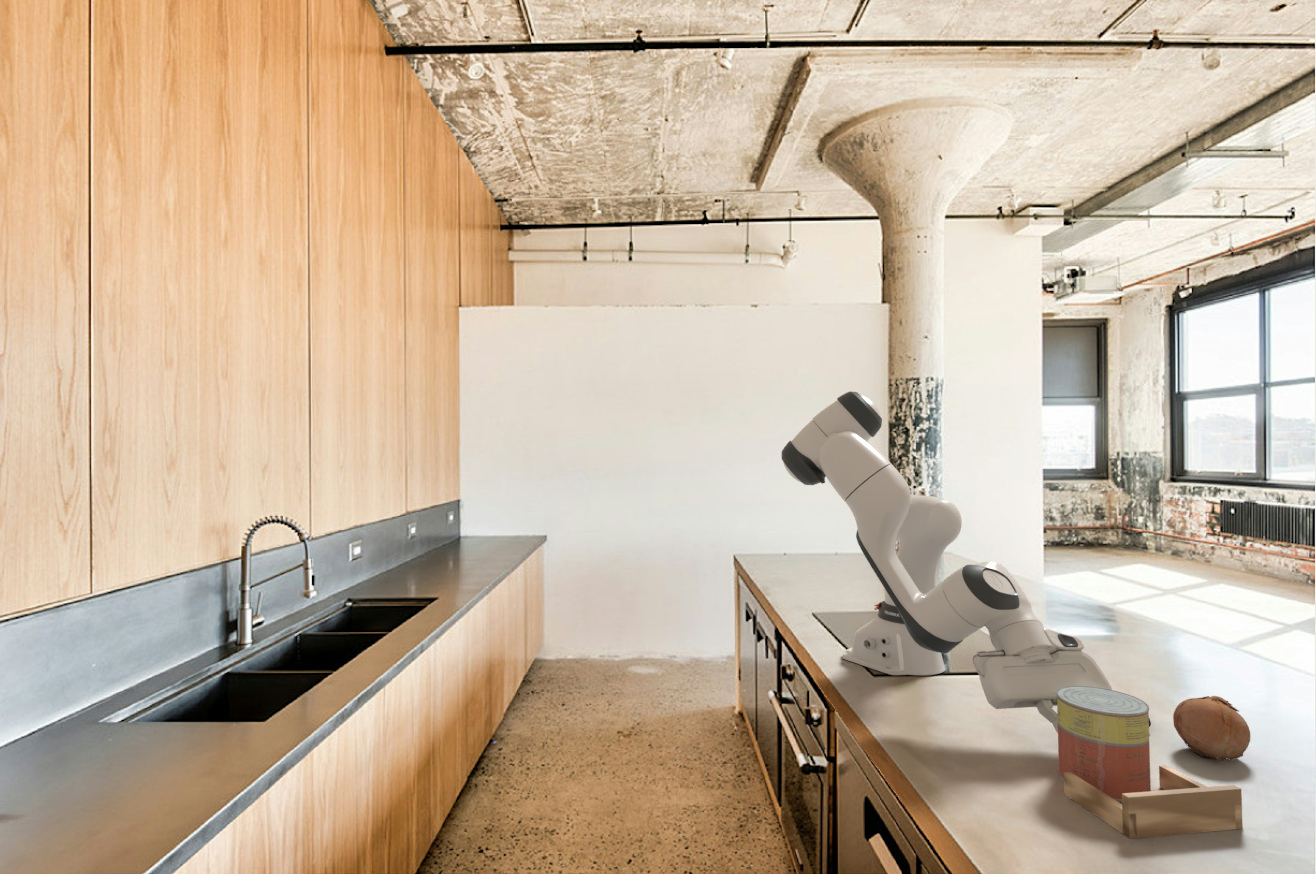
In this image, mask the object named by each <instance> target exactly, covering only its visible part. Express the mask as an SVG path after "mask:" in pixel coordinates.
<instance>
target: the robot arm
mask: <svg viewBox="0 0 1316 874" xmlns="http://www.w3.org/2000/svg"><path fill="white" fill-rule="evenodd" d="M836 399H837V400H835V401H834V402H833V403H831V404H829V405H828V406H826V407H825V408H823V410H821V411H820V412H819V413H816V415H815V416H813V418H812V420H811V421H810V422H808V423H807V424H806V425H805V426H804V427H803V428H802V429H801V430H800V431H799V432H798V433H797V434H796V435H795V436H794V437H793V439H792V440H789V441H788V442H787V443H786V445H785V446H784V447H783V448H782V450H781V460H782V462H783V466H784V468H785V469H786V471H787V473H788V475H790V476H791V478H793V479H794V480H796V481H798V482H800V483H802V484H803V485H804V486H815V485H818V484H820V483H821V484H825V483H826V479H825V478H827V480H828V482H829V483H830V484H831V487H833V488H834V490H835V491H836V492H837V494H838V495H839V496H840V498H841V499H842V500H843V502H844V503H846V505H847V506H848V508H849V510H850V511H851V513H852V515H853V518H854V520H855V522H856V527H857V530H856V533H855V537H856V541H857V543H858V546H859V547H860V550H861V552H862V553H863V556H864V557H865V559H866V560H867V562H868V564H869V565H870V568H872V570H873V572H874V573H875V576H877V578H878V580H879V582H880V583H881V585H882V586H883V588H884V600H883V601H881V602H878V604H874V605H873V606H874V610H873V611H878V613H877V616H876V617H874V618H873V619H871V620H870V621H869V622H867V623H866V624H864V625H862V626H861V627H860V628H858V629H856V632H855V633H854V636H853V639H852V640H853V641H852V646H851V647H849V648H847V649H845V650H844V651H843V653H842V659H844V660H846V661H849V662H852V663H855V664H858V665H860V666H864V667H866V668H869V669H872V670H876V671H878V672H881V673H883V674H884V673H885V674H888V675H890V676H906V675H909V676H934V675H938V674H941V673H944V672H945V671H946V670H947V669H946V665H945V663H944V660H943V656H942V654H947V653H949V652H951V651H952V650H953V649H954V648H956V647H957V646H958V645H960V644H961V643H962V642H963V641H964V640H965V639H967V638H968V637H970V636H971V635H973V634H974V633H976V632H978V630H980V629H982V628H984V627H985V628H986V629H987V631H988V635H989V640H990V642H991V644H992V646H993V648H994V650H991V651H985V650H981V651H980V650H979V651H977V652H976V654H974V655H973V657H972V665H973V666H974V668H975V671H976V672H977V674H978V676H979V680H980V684H981V687H982V690H983V693H984V696H985V698H986V701H987V702H988V704H989V705H990V706H992V707H993V708H994V709H995V710H1001V709H1003V710H1004V709H1005V710H1006V709H1020V708H1023V709H1024V708H1037V710H1038V713H1039V714H1040V715H1041V716H1042V717H1044V718H1045V719H1046V720H1047V721H1048V722H1050V723H1051V724H1052V726H1053V728H1054V729H1055V732H1056V733H1057V734H1058V712H1056V711H1055V710H1054V709H1053V707H1057V695H1056V692H1057V690H1058V689H1060V688H1063V687H1069V686H1087V687H1097V688H1103V689H1109V690H1113V689H1112V686H1111V684H1110V682H1109V680H1108V678H1107V677H1106V675H1105V674H1104V672H1103V671H1102V669H1101V667H1100V666H1099V665H1098V664H1097V661H1095V659H1093V657H1092V656H1091V655H1090V654H1088V653H1087V652H1085V651H1083V650H1084V648H1085V645H1084V643H1083V641H1082V639H1080V638H1079V637H1077V636H1073V635H1070V634H1065V633H1061V632H1058V631H1056V630H1053V629H1050V628H1045V626H1044V625H1043V623H1042V621H1041V620H1040V619H1039V618H1038V617H1037V616H1036V615H1035V613H1034V612H1033V609H1032V605H1031V602H1030V600H1029V598H1028V596H1026V593H1025V592H1024V591H1023V589H1022V587H1021V586H1020V584H1019V583H1018V582H1017V580H1016V579H1015V578H1014V576H1013V575H1012V574H1011V573H1010V571H1009V570H1008V569H1007V568H1006V567H1005V566H1004V565H1002V564H1000V563H999V562H996V561H983V562H982V561H981V562H979V563H976V564H967V565H964V566H962V567H960V568H959V569H957V570H956V571H955V572H953V573H951V574H950V575H949V576H947V577H946V578H944V580H943V581H941V582H940V583H938V584H937V576H938V575H937V573H938V569H939V563H940V561H941V558H942V556H943V553H944V551H945V550H946V549H947V547H948V546H949V545H951V544H952V543H953V542H954V541H955V540H956V539H957V538H958V537H959V535H960V533H961V529H962V526H963V525H962V524H963V523H962V516H961V513H960V511H959V508H958V507H957V506H956V505H955V504H953V502H951V501H949V500H945V499H943V498H939V497H936V496H932V495H919V494H911V490H910V489H911V488H910V486H909V484H908V482H907V481H906V480H905V478H904V477H903V475H902V474H901V472H899V470H898V469H897V468H896V467H895V466H894V465H893V464H892V462H890V461H889V459H888V458H887V457H885V455H884V454H883V453H882V452H881V451H880V450H879V449H878V448H877V447H876V446H875V445H874V443H873V442H872V441H870V439H871V437H872V438H874V437H875V436H876V435H877V433H878V432H879V431H880V430H881V428H882V425H883V424H882V423H883V418H882V417H881V414H880V410H879V408H878V407H877V405H876V404H875V402H874V401H872V400H871V399H870V398H869V397H867V395H863V394H861V393H859V392H857V391H852V390H851V391H847V392H845V393H844V394H842V395H840V396H839V397H837V398H836ZM896 542H899V545H898V550H896ZM896 551H897V552H896Z"/></svg>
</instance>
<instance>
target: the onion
mask: <svg viewBox="0 0 1316 874" xmlns="http://www.w3.org/2000/svg"><path fill="white" fill-rule="evenodd" d="M1239 712H1240V710H1238V709H1237V708H1236V707H1235V706H1233V704H1232V703H1230V702H1229V701H1228V700H1226V699H1224V698H1223V697H1221V696H1217V695H1212V696H1209V695H1206V696H1202V697H1196V698H1195V697H1193V698H1187V699H1185V700H1182V702H1180V703H1179V704H1178V705H1177V706H1176V708H1175V709H1174V712H1173V717H1172V719H1173V726H1174V728H1175V729H1174V730H1176V732H1177V734H1178V736H1179V737H1180V738H1181V740H1183V742H1184V745H1185V746H1186V747H1188V749H1189V750H1191V751H1193V752H1194V753H1195V754H1198V755H1199V756H1201V757H1202V758H1205V757H1207V758H1210V759H1212V760H1216V759H1217V760H1219V761H1220V760H1221V761H1223V762H1224V760H1227V759H1228V760H1229V761H1233V762H1234V761H1236V759H1239V758H1241V757H1243V756H1244V753H1245V752H1246V750H1247V749H1248V747H1249V745H1250V742H1251V730H1250V727H1249V725H1248V722H1246V720H1245V719H1244V717H1243V716H1242V715H1241V714H1240V713H1239Z"/></svg>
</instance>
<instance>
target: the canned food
mask: <svg viewBox="0 0 1316 874" xmlns="http://www.w3.org/2000/svg"><path fill="white" fill-rule="evenodd" d="M1056 695H1057V706H1056V708H1057V710H1056V711H1057V712H1056V713H1057V714H1058V733H1057V749H1058V771H1057V773H1058V774H1057V775H1058V777H1059V778H1060V780H1062V781H1063V782H1064V772H1071V773H1073V774H1074V775H1076V776H1078V777H1079V778H1081V779H1082V780H1084V781H1086V782H1087V783H1089V784H1090V785H1092V786H1094V787H1095V788H1097V789H1098V790H1100V791H1102V792H1103V793H1105V794H1106V795H1108V796H1109V797H1111V798H1113V799H1114V800H1116V801H1117V802H1119V803H1120V802H1121V803H1122V793H1135V792H1148V791H1152V788H1151V787H1152V786H1151V755H1150V754H1151V752H1150V750H1151V749H1150V727H1149V719H1150V717H1149V716H1150V715H1149V711H1150V706H1149V704H1148V703H1146V702H1145V701H1144V700H1142V699H1140V698H1138V697H1136V696H1133V695H1131V694H1127V693H1125V692H1121V691H1117V690H1113V689H1112V690H1109V689H1103V688H1097V687H1087V686H1069V687H1063V688H1060V689H1058V690H1057V692H1056Z"/></svg>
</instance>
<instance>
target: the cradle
mask: <svg viewBox="0 0 1316 874" xmlns="http://www.w3.org/2000/svg"><path fill="white" fill-rule="evenodd" d="M1158 772H1159V773H1158V775H1159V779H1158V780H1159V788H1160V789H1161V790H1151V791H1148V792H1135V793H1122V802H1121V803H1120V802H1117V801H1116V800H1114V799H1113V798H1111V797H1109V796H1108V795H1106V794H1105V793H1103V792H1102V791H1100V790H1098V789H1097V788H1095V787H1094V786H1092V785H1090V784H1089V783H1087V782H1086V781H1084V780H1082V779H1081V778H1079V777H1078V776H1076V775H1074V774H1073V773H1071V772H1064V781H1063V788H1064V789H1063V790H1064V792H1063V793H1064V795H1066V796H1067V797H1068V798H1070V799H1071V800H1073V802H1076V803H1077V804H1079V805H1080V806H1082V808H1084V809H1085V810H1087V811H1089V812H1090V813H1092V814H1093V815H1094V816H1095V817H1096V816H1097V817H1098V818H1099V819H1100V820H1101V821H1103V822H1105V823H1106V824H1107V825H1109V826H1110V827H1112V828H1113V829H1115V830H1116V831H1118V832H1119V833H1121V834H1122V835H1124V836H1125V837H1127V838H1129V839H1136V838H1137V839H1138V838H1139V839H1140V838H1151V837H1161V836H1162V837H1163V836H1173V835H1185V834H1196V833H1197V834H1198V833H1209V832H1219V831H1231V830H1243V828H1244V827H1243V805H1242V804H1243V802H1242V801H1243V798H1242V788H1241V787H1239V786H1236V785H1234V784H1231V785H1228V784H1227V785H1217V786H1216V785H1215V786H1206V785H1204V784H1202V783H1201V782H1198V780H1195V779H1193V778H1191V777H1189V776H1188V775H1185V774H1184V773H1181V772H1179V771H1177V770H1175V769H1174V768H1171V767H1170V766H1167V765H1166V764H1164V765H1163V764H1162V765H1158Z"/></svg>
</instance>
